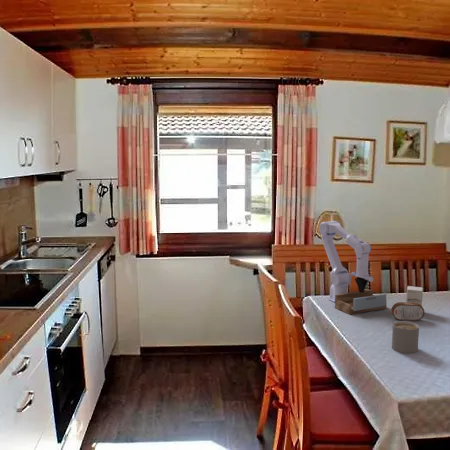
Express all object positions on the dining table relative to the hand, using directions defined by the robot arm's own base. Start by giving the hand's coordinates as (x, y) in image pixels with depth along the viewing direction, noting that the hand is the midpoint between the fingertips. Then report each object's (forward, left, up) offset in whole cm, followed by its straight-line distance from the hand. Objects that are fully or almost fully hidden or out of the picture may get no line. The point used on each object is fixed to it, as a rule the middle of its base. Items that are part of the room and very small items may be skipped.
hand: (361, 292), depth 256 cm
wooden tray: (0, 0, -9) cm, 9 cm away
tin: (+24, +8, -9) cm, 27 cm away
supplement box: (+17, +19, -9) cm, 27 cm away
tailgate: (+6, 0, -7) cm, 9 cm away
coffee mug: (+49, -19, -9) cm, 53 cm away
